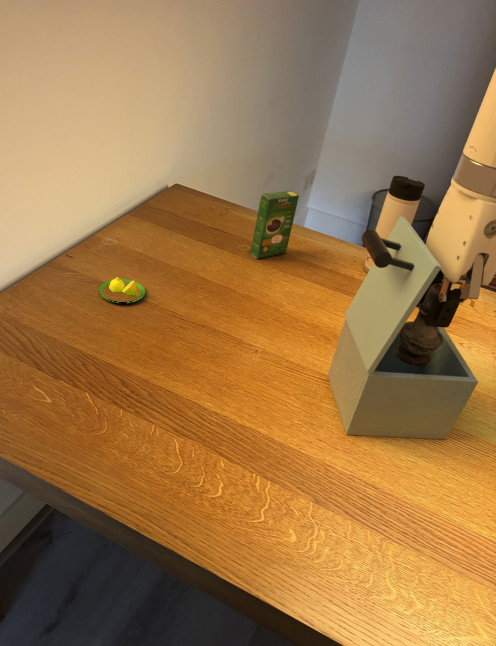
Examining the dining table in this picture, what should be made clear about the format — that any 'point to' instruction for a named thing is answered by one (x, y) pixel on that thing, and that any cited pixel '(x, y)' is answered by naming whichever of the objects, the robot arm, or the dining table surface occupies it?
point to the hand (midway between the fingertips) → (430, 314)
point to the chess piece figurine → (420, 334)
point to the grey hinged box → (400, 391)
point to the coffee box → (274, 223)
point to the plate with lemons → (123, 288)
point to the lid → (389, 289)
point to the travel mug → (397, 207)
